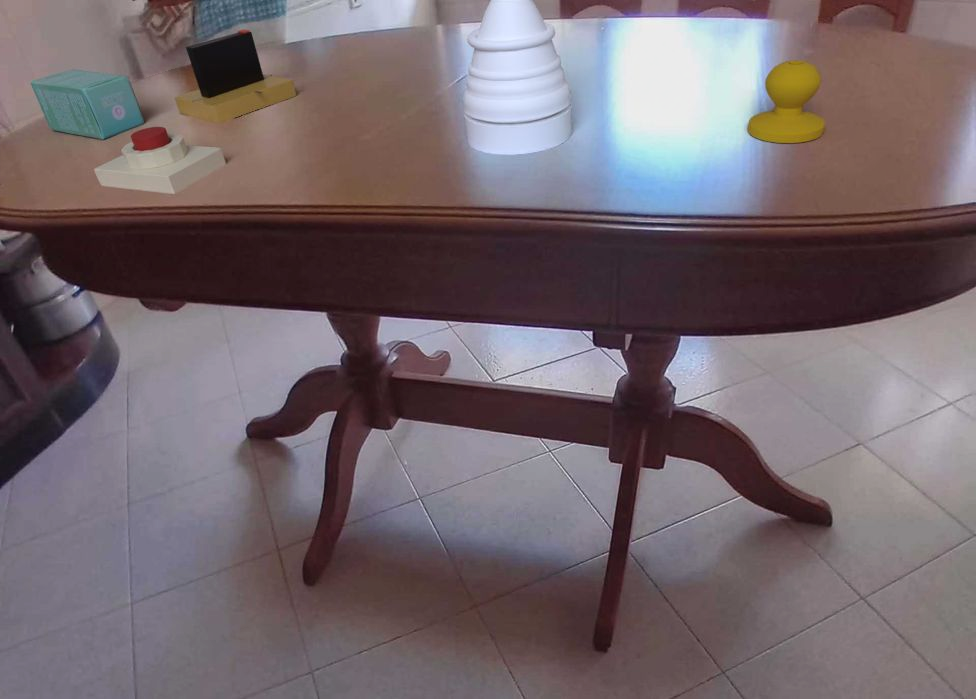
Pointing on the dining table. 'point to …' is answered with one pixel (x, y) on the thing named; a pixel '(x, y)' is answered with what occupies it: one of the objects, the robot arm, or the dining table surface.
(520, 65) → the honey pot
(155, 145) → the bell button
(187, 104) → the lock plate
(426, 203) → the dining table surface
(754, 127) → the doorknob
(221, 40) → the lock knob
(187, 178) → the bell block
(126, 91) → the box
